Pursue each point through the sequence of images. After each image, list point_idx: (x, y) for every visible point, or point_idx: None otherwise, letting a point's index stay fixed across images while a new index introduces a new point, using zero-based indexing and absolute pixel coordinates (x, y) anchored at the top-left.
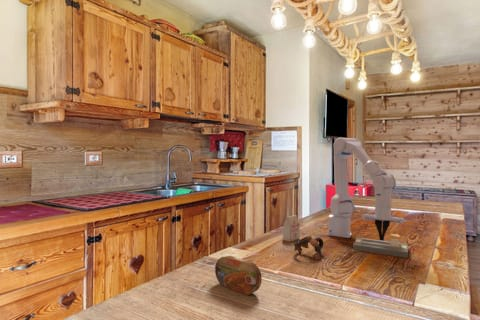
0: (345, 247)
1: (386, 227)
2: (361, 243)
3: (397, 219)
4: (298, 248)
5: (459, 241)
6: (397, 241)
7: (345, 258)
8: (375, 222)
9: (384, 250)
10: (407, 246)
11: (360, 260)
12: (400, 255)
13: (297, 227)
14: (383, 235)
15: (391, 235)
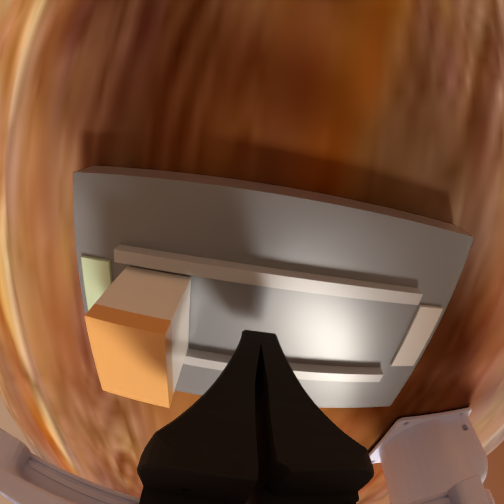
0: (477, 259)
1: (195, 421)
2: (414, 287)
3: (23, 494)
4: None
5: (21, 428)
6: (118, 293)
7: (490, 38)
8: (359, 484)
9: (247, 186)
10: None
11: (422, 4)
12: (132, 170)
13: None
14: (242, 356)
15: (159, 359)
